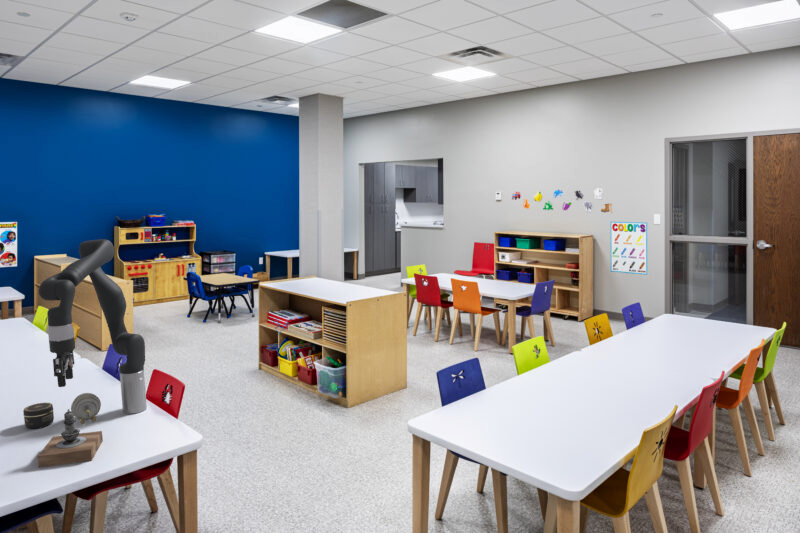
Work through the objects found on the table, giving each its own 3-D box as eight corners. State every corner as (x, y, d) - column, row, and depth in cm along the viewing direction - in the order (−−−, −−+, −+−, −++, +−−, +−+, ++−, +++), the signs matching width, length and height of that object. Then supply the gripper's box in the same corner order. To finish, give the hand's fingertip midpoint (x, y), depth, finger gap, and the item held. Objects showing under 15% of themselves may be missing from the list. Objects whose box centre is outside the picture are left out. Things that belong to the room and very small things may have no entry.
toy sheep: (97, 411, 232) (95, 386, 231) (106, 423, 219) (104, 396, 218) (69, 417, 226) (66, 391, 224) (76, 430, 213) (73, 403, 211)
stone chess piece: (63, 439, 194) (60, 407, 193) (82, 437, 196) (79, 405, 195) (60, 446, 189) (56, 413, 187) (79, 443, 191) (76, 410, 189)
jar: (18, 428, 215) (16, 410, 215) (41, 418, 225) (40, 401, 224) (37, 431, 213) (35, 412, 212) (60, 421, 222) (58, 403, 221)
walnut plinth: (53, 447, 198) (52, 435, 198) (102, 441, 203) (101, 430, 202) (38, 467, 183) (37, 455, 183) (91, 460, 188) (90, 448, 187)
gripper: (55, 333, 194) (60, 377, 196) (42, 343, 180) (46, 390, 182) (79, 331, 196) (83, 375, 198) (67, 341, 182) (72, 388, 184)
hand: (65, 382), depth 190 cm, fingers open, 8 cm apart
